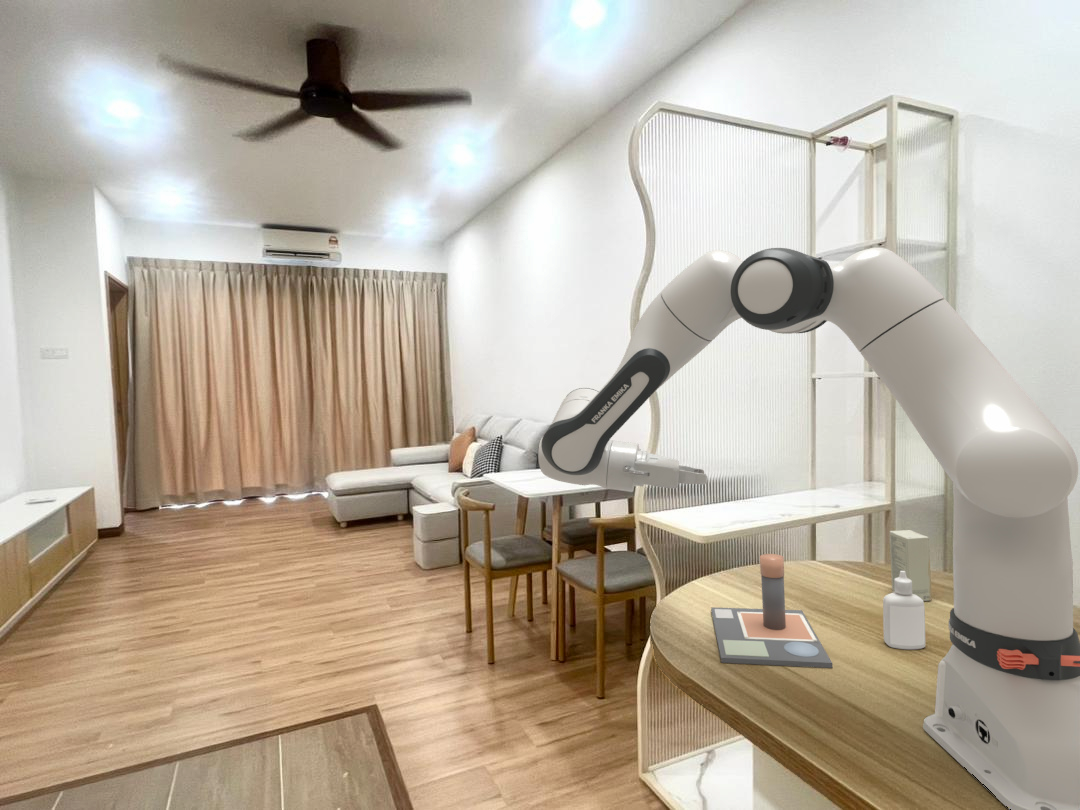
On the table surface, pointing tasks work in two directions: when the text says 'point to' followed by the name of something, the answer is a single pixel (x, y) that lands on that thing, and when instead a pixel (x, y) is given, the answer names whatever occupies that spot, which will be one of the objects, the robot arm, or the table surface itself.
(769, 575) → the terracotta marker
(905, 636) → the eye dropper bottle
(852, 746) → the table surface
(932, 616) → the table surface
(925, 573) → the skincare box
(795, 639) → the picture board
